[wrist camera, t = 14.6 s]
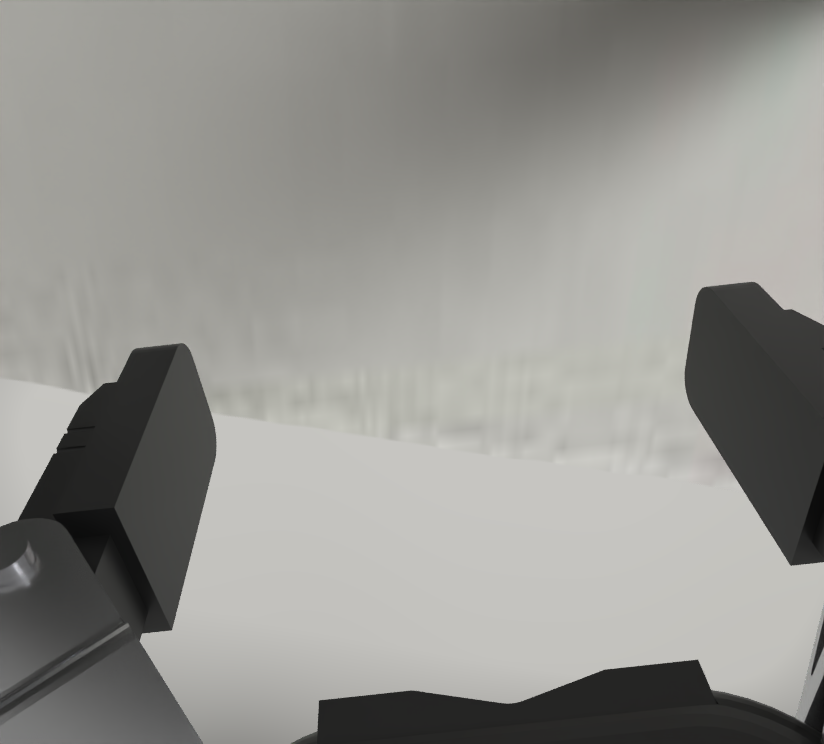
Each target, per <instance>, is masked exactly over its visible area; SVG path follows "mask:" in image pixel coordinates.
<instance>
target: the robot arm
mask: <svg viewBox="0 0 824 744" xmlns="http://www.w3.org/2000/svg"><path fill="white" fill-rule="evenodd" d="M685 388H686V393H687V397H688V400H689V403H690V405H691V407H692V409H693V411H694V413H695V414H696V416H697V417H698V419H699V420H700V422H701V424H702V425H703V427H704V428H705V430H706V432H707V433H708V435H709V436H710V438H711V440H712V441H713V443H714V444H715V446H716V448H717V449H718V451H719V452H720V454H721V456H722V457H723V459H724V460H725V462H726V463H727V465H728V467H729V468H730V470H731V471H732V473H733V475H734V476H735V478H736V479H737V481H738V483H739V484H740V486H741V487H742V489H743V491H744V492H745V494H746V495H747V497H748V498H749V500H750V502H751V503H752V505H753V506H754V508H755V509H756V511H757V513H758V514H759V516H760V518H761V519H762V521H763V522H764V524H765V526H766V527H767V529H768V530H769V532H770V533H771V535H772V537H773V538H774V540H775V541H776V543H777V545H778V546H779V548H780V549H781V551H782V553H783V554H784V556H785V557H786V559H787V561H788V562H789V564H790V565H791V566H792V565H801V564H810V563H818V562H824V325H822V324H820V323H818V322H816V321H814V320H812V319H810V318H808V317H806V316H804V315H802V314H800V313H798V312H796V311H794V310H792V309H790V310H783V309H782V308H781V307H780V306H779V305H778V304H777V303H776V302H775V301H774V300H773V299H772V298H771V297H770V296H769V295H768V293H767V292H766V291H765V290H764V289H763V288H762V287H761V286H760V285H758V284H757V283H755V282H746V283H737V284H728V285H719V286H710V287H704V288H702V289H701V290H700V291H699V293H698V295H697V298H696V303H695V309H694V315H693V321H692V328H691V334H690V341H689V347H688V354H687V360H686V366H685ZM67 431H68V433H67V434H64V436H63V438H62V439H61V441H60V443H59V445H58V447H57V453H56V454H53V456H52V458H51V460H50V462H49V463H48V465H47V467H46V469H45V471H44V473H43V475H42V476H41V479H40V480H39V482H38V484H37V486H36V488H35V489H34V491H33V493H32V495H31V497H30V499H29V501H28V502H27V504H26V506H25V508H24V510H23V512H22V514H21V515H20V517H19V519H18V521H15V522H12V523H9V524H6V525H3V526H1V527H0V744H203V742H202V741H201V739H200V738H199V736H198V734H197V733H196V731H195V730H194V728H193V726H192V725H191V723H190V722H189V720H188V718H187V717H186V715H185V714H184V712H183V710H182V709H181V707H180V706H179V704H178V702H177V701H176V700H175V697H174V696H173V694H172V693H171V691H170V690H169V688H168V686H167V685H166V683H165V681H164V680H163V678H162V677H161V675H160V673H159V672H158V670H157V669H156V667H155V665H154V664H153V662H152V661H151V659H150V658H149V656H148V654H147V653H146V651H145V649H144V648H143V646H142V645H141V643H140V638H141V634H142V633H150V632H159V631H169V630H172V627H173V624H174V620H175V616H176V612H177V608H178V604H179V600H180V596H181V592H182V588H183V584H184V580H185V576H186V572H187V568H188V565H189V560H190V556H191V553H192V548H193V545H194V541H195V537H196V533H197V529H198V525H199V521H200V517H201V513H202V509H203V505H204V501H205V497H206V493H207V490H208V486H209V482H210V477H211V474H212V469H213V466H214V462H215V457H216V433H215V427H214V422H213V419H212V415H211V412H210V409H209V406H208V403H207V400H206V397H205V394H204V391H203V388H202V385H201V382H200V378H199V375H198V372H197V369H196V366H195V363H194V360H193V357H192V354H191V352H190V350H189V348H188V347H187V346H186V345H185V344H183V343H181V344H172V345H162V346H153V347H144V348H136V349H134V350H133V351H132V353H131V354H130V356H129V358H128V361H127V363H126V365H125V367H124V369H123V371H122V373H121V375H120V377H119V379H118V381H117V382H114V383H105V384H103V385H102V386H101V387H100V388H99V389H97V390H96V391H95V392H94V393H93V394H92V395H91V396H90V397H89V398H87V399H86V400H85V401H84V402H83V403H82V404H81V405H80V406H79V408H78V410H77V412H76V413H75V415H74V417H73V419H72V421H71V423H70V424H69V426H68V428H67ZM291 744H824V605H823V610H822V614H821V618H820V622H819V626H818V630H817V634H816V639H815V642H814V647H813V651H812V655H811V659H810V663H809V667H808V671H807V676H806V680H805V684H804V688H803V692H802V696H801V699H800V703H799V707H798V710H797V713H796V716H795V718H794V717H792V716H790V715H787V714H785V713H783V712H781V711H779V710H777V709H775V708H773V707H770V706H767V705H765V704H762V703H759V702H756V701H754V700H751V699H748V698H744V697H740V696H737V695H733V694H729V693H725V692H719V691H713V690H711V689H710V687H709V684H708V682H707V679H706V677H705V675H704V673H703V670H702V668H701V666H700V664H699V661H698V660H691V661H682V662H673V663H663V664H654V665H645V666H636V667H626V668H617V669H608V670H603V671H600V672H598V673H595V674H592V675H590V676H587V677H585V678H582V679H580V680H577V681H575V682H572V683H569V684H566V685H564V686H561V687H558V688H556V689H553V690H551V691H548V692H545V693H543V694H540V695H538V696H535V697H532V698H530V699H527V700H524V701H522V702H518V703H512V704H504V703H496V702H489V701H482V700H475V699H468V698H461V697H453V696H447V695H439V694H433V693H425V692H419V691H404V692H394V693H385V694H376V695H366V696H357V697H348V698H340V699H339V698H338V699H329V700H320V701H319V714H318V731H317V732H315V733H313V734H310V735H307V736H305V737H303V738H301V739H299V740H297V741H295V742H293V743H291Z"/></svg>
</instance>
